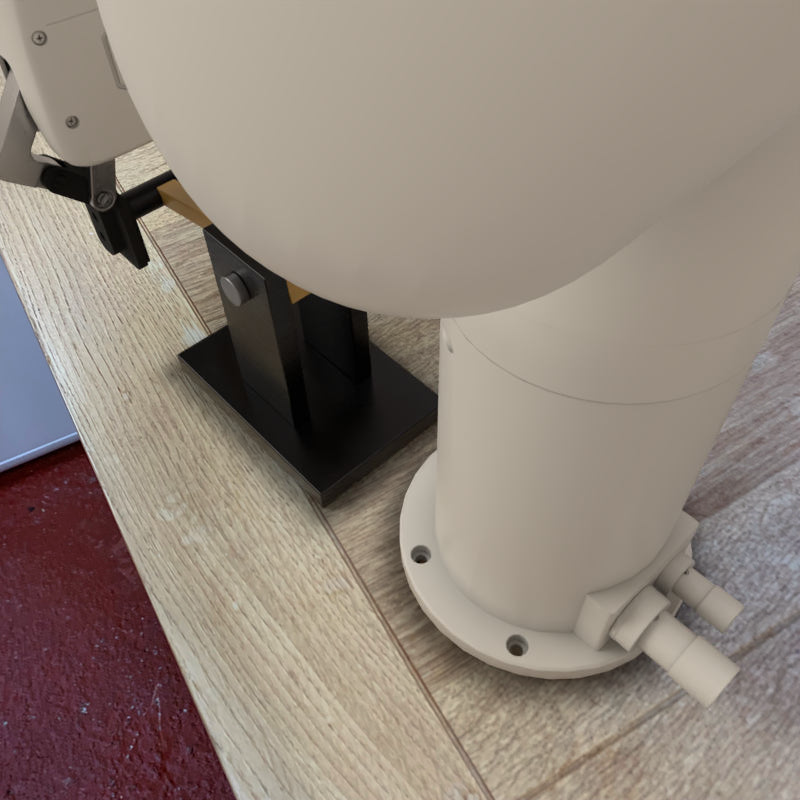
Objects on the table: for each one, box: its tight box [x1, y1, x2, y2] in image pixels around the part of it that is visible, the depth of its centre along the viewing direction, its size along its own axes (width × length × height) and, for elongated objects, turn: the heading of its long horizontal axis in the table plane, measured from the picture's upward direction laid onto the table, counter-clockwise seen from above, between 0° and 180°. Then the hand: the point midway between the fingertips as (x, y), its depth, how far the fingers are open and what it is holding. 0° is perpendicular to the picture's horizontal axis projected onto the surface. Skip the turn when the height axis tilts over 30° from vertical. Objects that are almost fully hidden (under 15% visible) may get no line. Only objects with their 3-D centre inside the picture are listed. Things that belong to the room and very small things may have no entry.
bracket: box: [176, 223, 438, 509], centre depth 37 cm, size 12×8×11 cm, turn 43°
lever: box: [119, 168, 311, 304], centre depth 37 cm, size 13×5×2 cm, turn 43°
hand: (176, 227), depth 43 cm, fingers closed on lever, 5 cm apart
